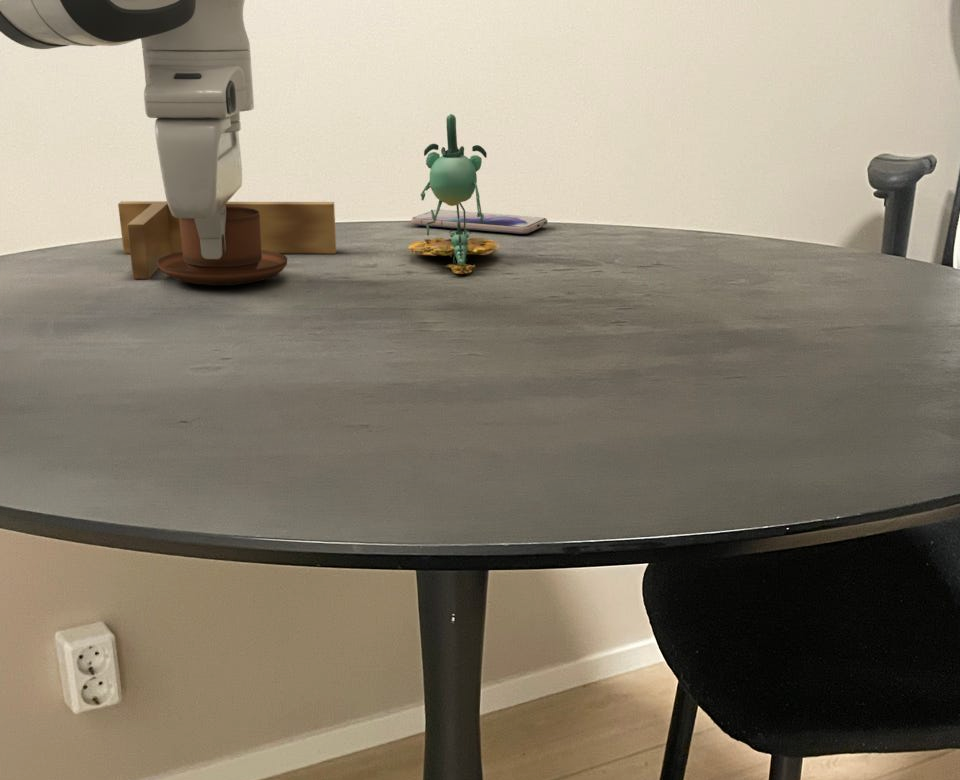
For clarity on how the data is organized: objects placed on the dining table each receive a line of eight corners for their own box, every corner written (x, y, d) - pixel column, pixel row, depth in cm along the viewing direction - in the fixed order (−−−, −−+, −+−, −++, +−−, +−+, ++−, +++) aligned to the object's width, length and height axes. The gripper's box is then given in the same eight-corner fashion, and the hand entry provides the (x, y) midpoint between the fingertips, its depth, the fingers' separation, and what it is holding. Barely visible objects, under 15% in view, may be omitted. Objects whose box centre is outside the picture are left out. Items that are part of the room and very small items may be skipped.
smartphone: (527, 227, 142) (409, 218, 147) (526, 236, 142) (409, 226, 148) (549, 217, 148) (435, 208, 153) (549, 225, 148) (435, 216, 153)
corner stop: (95, 279, 118) (88, 224, 116) (126, 251, 131) (120, 201, 129) (329, 279, 119) (327, 224, 117) (336, 251, 133) (334, 201, 130)
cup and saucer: (136, 278, 119) (128, 210, 116) (245, 264, 126) (241, 199, 123) (200, 299, 111) (194, 226, 108) (313, 282, 118) (310, 214, 115)
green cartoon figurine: (386, 274, 122) (384, 109, 116) (422, 262, 138) (421, 117, 133) (484, 277, 120) (486, 110, 115) (508, 264, 137) (511, 118, 132)
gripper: (182, 80, 114) (196, 237, 121) (138, 95, 96) (158, 278, 103) (251, 81, 115) (262, 237, 121) (221, 95, 97) (235, 278, 103)
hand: (214, 256), depth 112 cm, fingers closed
